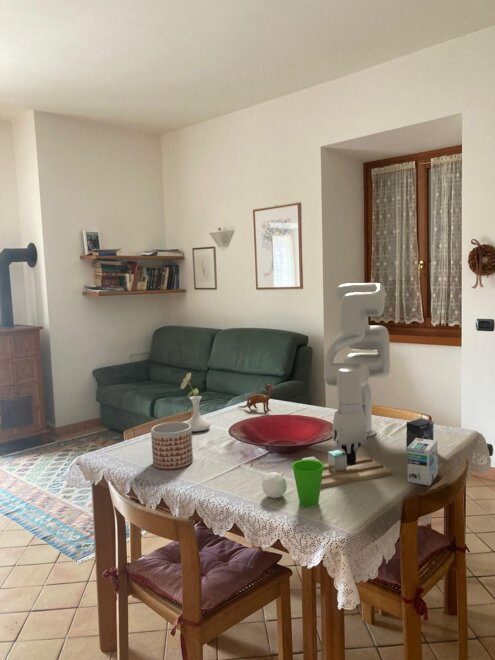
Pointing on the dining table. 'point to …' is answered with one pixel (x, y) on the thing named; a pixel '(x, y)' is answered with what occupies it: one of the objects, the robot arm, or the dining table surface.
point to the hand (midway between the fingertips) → (350, 463)
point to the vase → (172, 445)
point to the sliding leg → (337, 461)
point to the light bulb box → (422, 461)
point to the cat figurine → (259, 399)
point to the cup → (308, 481)
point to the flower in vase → (195, 409)
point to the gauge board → (353, 472)
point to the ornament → (274, 485)
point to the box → (419, 430)
